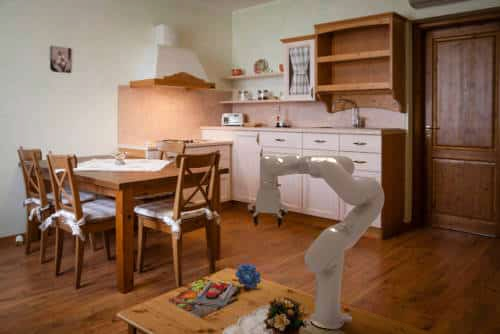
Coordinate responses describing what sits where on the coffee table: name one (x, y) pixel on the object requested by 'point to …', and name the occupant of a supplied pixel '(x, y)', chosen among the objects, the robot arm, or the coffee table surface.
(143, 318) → the coffee table surface
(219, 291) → the race car
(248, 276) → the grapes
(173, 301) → the coffee table surface
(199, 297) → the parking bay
